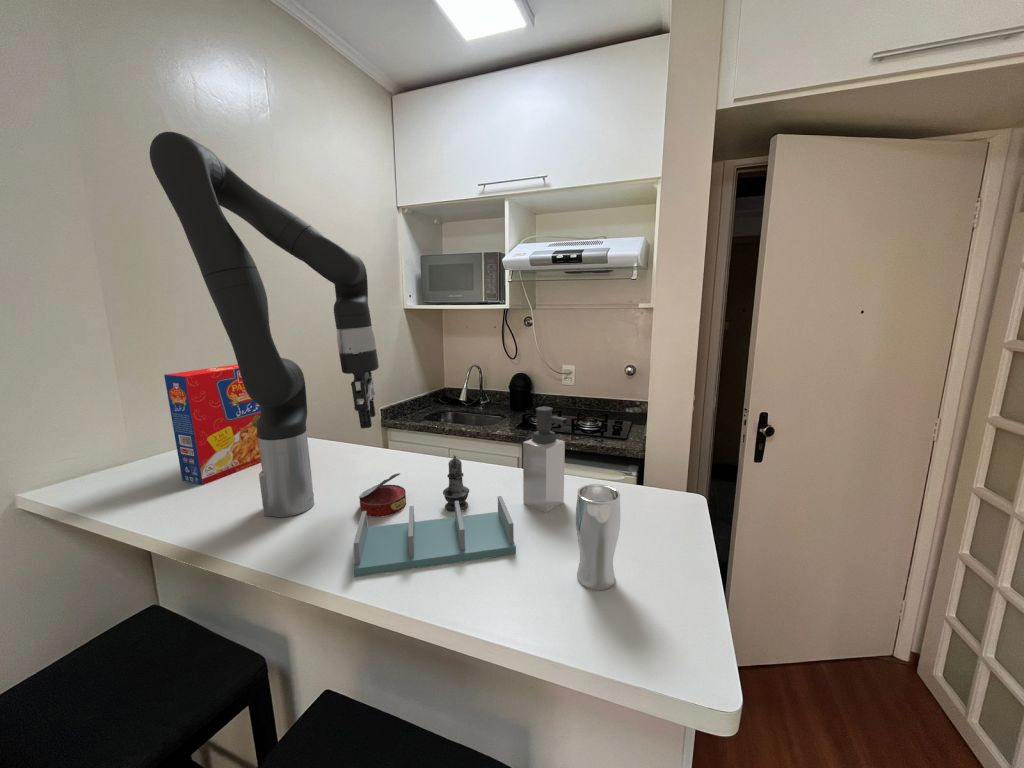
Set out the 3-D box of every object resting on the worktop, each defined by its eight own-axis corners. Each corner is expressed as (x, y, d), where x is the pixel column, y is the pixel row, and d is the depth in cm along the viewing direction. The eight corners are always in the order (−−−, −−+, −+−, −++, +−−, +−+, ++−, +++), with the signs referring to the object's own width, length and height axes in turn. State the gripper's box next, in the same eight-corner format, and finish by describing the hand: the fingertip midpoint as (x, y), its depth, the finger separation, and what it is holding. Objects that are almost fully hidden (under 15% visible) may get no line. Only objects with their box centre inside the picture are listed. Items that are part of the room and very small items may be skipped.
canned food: (375, 537, 88) (349, 507, 83) (368, 512, 96) (344, 483, 92) (421, 505, 91) (398, 474, 86) (410, 484, 99) (388, 454, 95)
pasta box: (202, 485, 104) (185, 376, 98) (182, 480, 106) (164, 374, 101) (296, 449, 129) (286, 361, 124) (277, 446, 132) (267, 360, 127)
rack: (353, 576, 68) (351, 546, 67) (363, 534, 80) (361, 508, 79) (515, 553, 74) (515, 525, 73) (501, 517, 86) (501, 493, 85)
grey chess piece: (472, 500, 94) (470, 450, 92) (466, 513, 89) (465, 460, 86) (447, 499, 95) (445, 450, 93) (440, 512, 89) (437, 459, 87)
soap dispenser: (554, 516, 87) (555, 416, 83) (523, 503, 93) (523, 408, 89) (572, 505, 91) (574, 409, 87) (541, 493, 97) (541, 403, 93)
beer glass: (570, 566, 70) (571, 484, 67) (609, 563, 71) (613, 482, 68) (580, 594, 64) (582, 504, 61) (623, 591, 64) (628, 502, 61)
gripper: (344, 347, 93) (355, 416, 97) (332, 354, 80) (345, 434, 83) (378, 344, 95) (388, 411, 98) (372, 351, 81) (383, 429, 85)
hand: (368, 422), depth 91 cm, fingers open, 8 cm apart
